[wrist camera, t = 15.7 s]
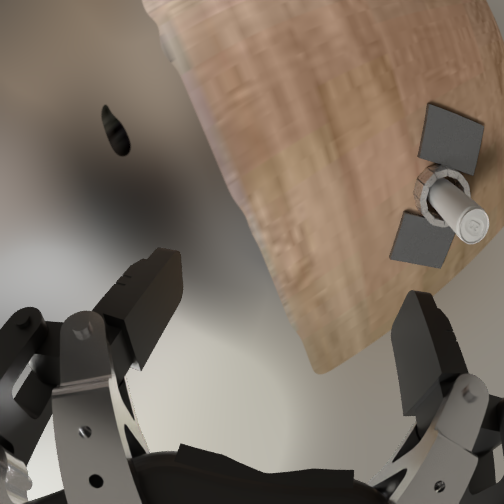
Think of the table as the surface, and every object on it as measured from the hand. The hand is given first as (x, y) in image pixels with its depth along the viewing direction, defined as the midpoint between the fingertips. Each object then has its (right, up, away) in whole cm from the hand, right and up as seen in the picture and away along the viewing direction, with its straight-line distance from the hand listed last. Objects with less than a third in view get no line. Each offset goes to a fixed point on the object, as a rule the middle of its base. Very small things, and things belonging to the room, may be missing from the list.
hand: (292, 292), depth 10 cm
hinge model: (+26, +10, +26) cm, 38 cm away
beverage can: (+26, +10, +26) cm, 39 cm away
